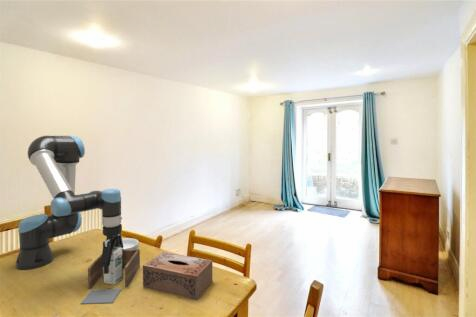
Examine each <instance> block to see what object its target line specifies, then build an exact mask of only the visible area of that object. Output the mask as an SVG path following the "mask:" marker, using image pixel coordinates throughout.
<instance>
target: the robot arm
mask: <svg viewBox="0 0 476 317" xmlns="http://www.w3.org/2000/svg"><path fill="white" fill-rule="evenodd" d="M85 148H86V147H85V144H84V142H83V140H82V139H81V137H78V136H75V135H42V136H38V137H37V138H36V139H33V140H32V142H31V143H30V144H29V146H28V149H27V158H28V161H29V162H30V164H32V165H33V166H35V167H36V169H37V171H38V173H39V175H40V177H41V178H42V181H43V183H44V184H45V185H46V188H47V190H48V191H49V194H50V195H51V196H52V199H51V201H50V210H51V215H47V214H46V213H40V214H34V215H31V216H28V217H25V218H23V219H22V220H20V222H19V224H18V231H17V232H18V240H19V241H18V242H19V252H18V255H17V257H16V261H15V267H16V269H18V270H33V269H37V268H41V267H43V266H46V265H48V264H50V263H51V262H53V261H54V258H55V256H54V253H53V250H52V249H51V246H50V241H49V240H50V239H53V238H58V237H61V236H64V235H69V234H72V233H75V232H77V231H79V229H80V228H81V225H82V214H81V213H82V212H87V211H92V210H98V209H99V210H101V219H102V220H101V221H102V222H101V225H102V235H103V236H105V237H106V240H105V241H103V242H102V252H101V253H102V259H101V267H104V274H103V281H104V280H111V264H110V261H111V256H112V251H113V249H114V247H122V248H123V242H122V239H123V238H122V231H123V230H122V229H123V228H122V225H123V224H122V220H123V216H122V197H121V190H120V189H118V188H107V189H103V190H102V191H101V190H91V191H89V192H88V193H81V194H76V193H75V192H76V174H77V172H76V171H77V165H78V164H79V163H80V159H82V158H84V156H85V153H86V150H85ZM122 251H124V249H122Z"/></svg>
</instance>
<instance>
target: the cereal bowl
mask: <svg viewBox="0 0 476 317" xmlns="http://www.w3.org/2000/svg"><path fill="white" fill-rule="evenodd" d="M122 242H123V248H122V249H124V250H133V249H139V247H140V245H139V240H138V239H136V238H133V237H132V238H131V237H126V238H122Z"/></svg>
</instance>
